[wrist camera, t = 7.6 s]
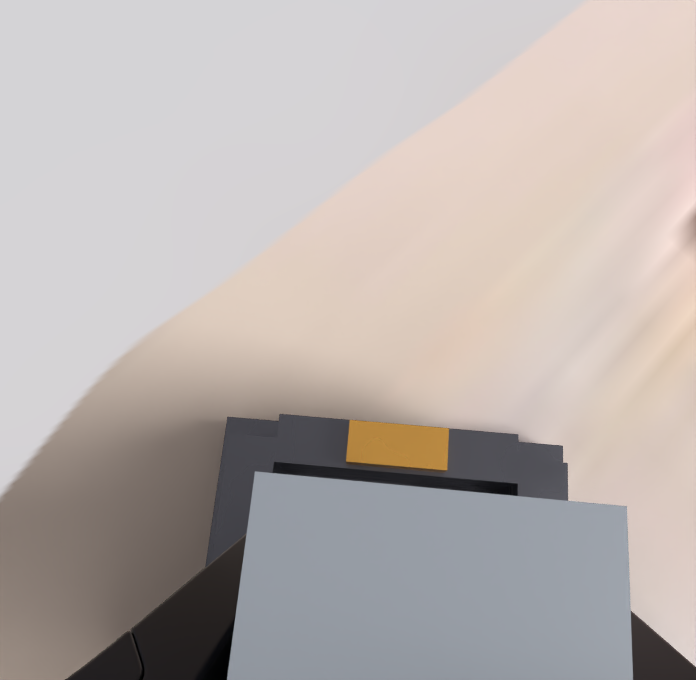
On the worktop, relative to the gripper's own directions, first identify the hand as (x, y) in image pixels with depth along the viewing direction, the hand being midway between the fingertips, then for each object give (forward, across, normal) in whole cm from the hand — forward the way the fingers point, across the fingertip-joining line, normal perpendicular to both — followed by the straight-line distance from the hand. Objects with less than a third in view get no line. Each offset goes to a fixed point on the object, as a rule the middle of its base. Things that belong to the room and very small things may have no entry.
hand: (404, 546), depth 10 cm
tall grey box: (+4, 0, -6) cm, 7 cm away
